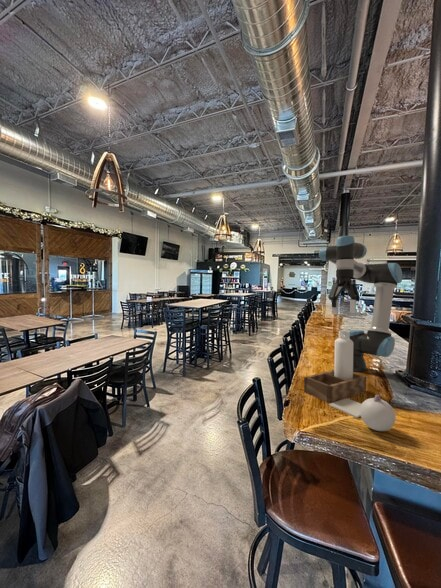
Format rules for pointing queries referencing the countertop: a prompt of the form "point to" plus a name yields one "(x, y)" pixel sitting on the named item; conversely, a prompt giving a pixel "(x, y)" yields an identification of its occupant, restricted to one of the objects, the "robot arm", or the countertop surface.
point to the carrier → (333, 386)
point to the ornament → (377, 414)
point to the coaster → (348, 407)
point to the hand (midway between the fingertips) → (344, 313)
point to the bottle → (343, 356)
